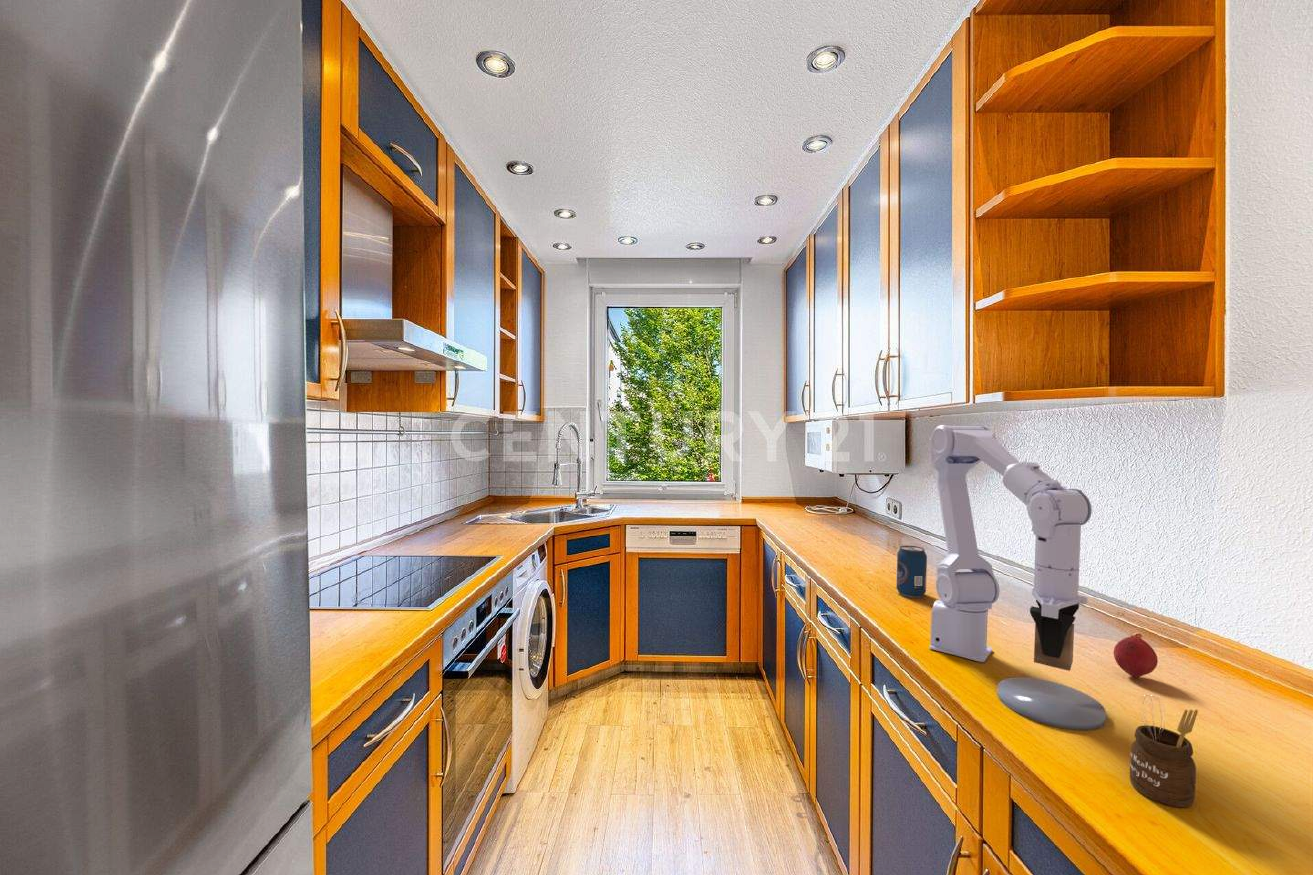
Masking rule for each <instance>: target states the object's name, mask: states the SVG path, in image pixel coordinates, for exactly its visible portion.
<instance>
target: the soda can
mask: <svg viewBox="0 0 1313 875" xmlns="http://www.w3.org/2000/svg"><path fill="white" fill-rule="evenodd" d="M925 551H926V550H925V548H923V547H921V546H918V545H917V546H916V545H900V546H899V550H898V551H897V555H896V559H897V560H896V565H897V566H896V590H897V591H898V593H899V594H900V595H901V596H904V597H907V598H913V599H915V598H916V599H917V598H922V597H924V595H925V594H926V592H927V570H928V568H927V566H928V565H927V564H928V556H927V553H926V552H925Z"/></svg>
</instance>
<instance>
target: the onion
mask: <svg viewBox="0 0 1313 875" xmlns="http://www.w3.org/2000/svg"><path fill="white" fill-rule="evenodd" d="M1142 637H1143V635H1142V634H1141V633H1140V632H1134V633H1132V634H1131V635H1130V636H1128V637H1125V638H1123V639H1121V640H1120V641H1118V642H1117V643H1116V645H1115V646H1114V649H1113V656H1114V661H1115V662H1116V664H1117V665H1118V666H1119V667H1120V669H1121V670H1123V671H1124V672H1125V673H1126V674H1127V675H1129V676H1130V677H1131V678H1135V679H1138V678H1140V677H1143V676H1146V675H1149V674H1150V673H1153V672H1154V670H1155V669H1156V668H1157V666H1158V663H1159V662H1158V656H1157V653H1156V652H1155V650H1154V648H1153V647H1152V646H1151V645H1150V644H1149V643H1148V642H1147V641H1145V640H1144V639H1142Z"/></svg>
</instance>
